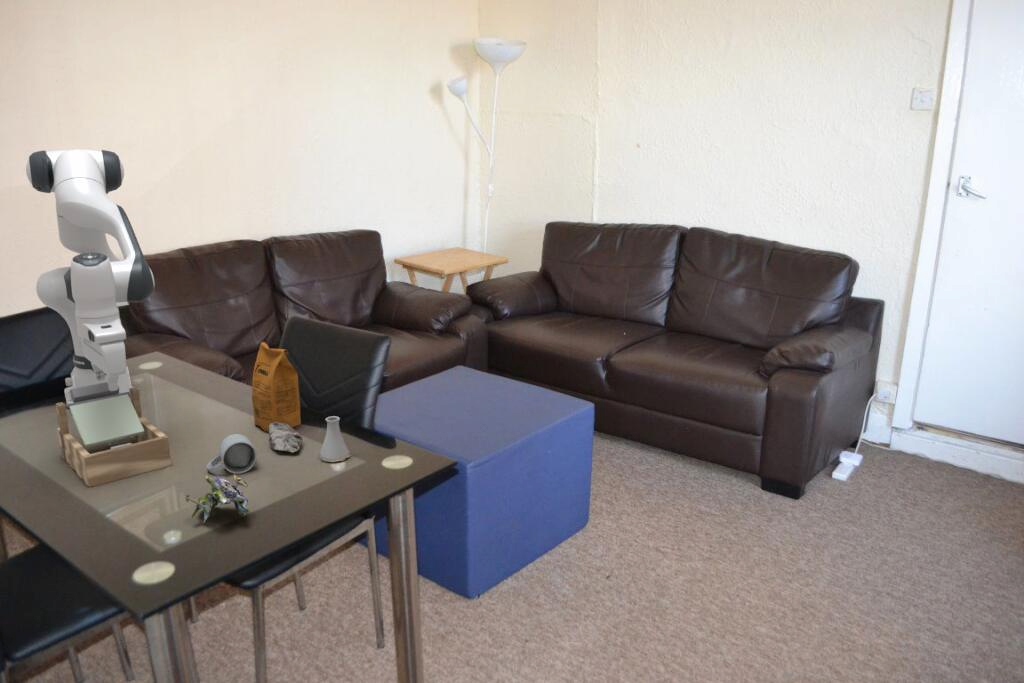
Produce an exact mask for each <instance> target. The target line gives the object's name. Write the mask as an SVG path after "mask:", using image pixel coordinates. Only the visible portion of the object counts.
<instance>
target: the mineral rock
mask: <svg viewBox="0 0 1024 683" xmlns="http://www.w3.org/2000/svg"><path fill="white" fill-rule="evenodd" d="M269 428H270V429H269V432H268V436H269V439H268V442H269V445H268V446H269V448H270V449H272V450H274V451H280V452H283V451H284V452H288V453H294V452H298V451H299V450H300V446H301V444H302V442H303V437H302V436H301V434H300V433H299V432H298V431H296V429H294V427H292V428H291V427H290V426H289V425H288V424H284V423H280V422H272V423H271V424H270V426H269Z"/></svg>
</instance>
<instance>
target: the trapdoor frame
mask: <svg viewBox="0 0 1024 683" xmlns="http://www.w3.org/2000/svg"><path fill="white" fill-rule="evenodd" d="M133 387H134V388H130V389H129V390H130V397H129V398H130V400H131V402H132V405H133V407H134V409H135V411H136V413H137V416H138V418H139V420H140V422H141V425H142V427H143V429H144V434H140V435H136V436H131V438H132V440H134V441H135V442H134V443H131V444H130V445H126V446H122V447H118V448H114V449H107V450H102V451H98V452H93V453H89V452H88V450H86V449H85V447H84V446H83V445H82V444H80V443H79V441H78V440H77V439H76V438H75V437H74V436H73V435H72V434H71V433H70V429H69V423H68V415H67V409H66V404H65V403H64V402H61V401H60V402H57V403H55V407H56V414H57V420H58V427H57V428H56V431H57V437H58V438H57V439H58V445H59V450H60V456H61V455H62V456H63V457H64V458H63V457H62V456H61V457H62V458H63V459H64V461H65V460H66V461H67V462H68V463H69V464H70V465H69V464H68V463H67V462H66V461H65V462H66V463H67V464H68V465H69V466H70V467H71V469H72V470H73V469H74V470H75V471H76V472H77V473H76V472H75V471H74V470H73V471H74V472H75V473H76V474H77V475H78V476H79V478H80V479H81V478H82V479H83V480H84V481H85V482H84V481H83V480H82V479H81V480H82V481H83V482H84V484H85V485H86V486H87V487H88V486H89V488H92V487H91V486H93V487H96V486H99V485H100V486H101V485H103V484H107V483H111V482H115V481H118V480H121V479H122V480H123V479H126V478H129V477H132V476H137V475H140V474H144V473H147V472H151V471H156V470H159V469H162V468H165V467H169V466H170V467H171V466H172V459H171V452H170V442H169V437H168V436H167V435H166V434H165V433H163V432H162V430H159V429H158V428H157V427H156V426H154V425H153V424H152V423H151V422H149V421H148V420H147V419H146V418H144V417H143V415H142V406H141V399H140V390H139V389H138V388H137V387H135V386H133Z"/></svg>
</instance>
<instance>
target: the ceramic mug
mask: <svg viewBox="0 0 1024 683" xmlns="http://www.w3.org/2000/svg"><path fill="white" fill-rule="evenodd" d="M257 456H258V455H257V449H256V448H255V446H254V445H253V443H252V442H251V440H250V439H249V438H248V437H247V436H246V435H243V434H242V433H241V434H240V433H233V434H229V435H228V436H226V437H225V438H224V439H223V440H222V442H221V444H220V447H219V454H218V455H217V456H215V457H213V459H210V461H209V462H208V463H207V465H206V469H207V470H208V472H209V473H210V474H216V473H217V474H218V473H219V472H221V471H223V470H224V469H225V470H226V471H228V473H231V474H236V475H237V474H244V473H246V472H248V471H250V470H251V469H252V468H253V467H254V465H255V464H256V461H257Z"/></svg>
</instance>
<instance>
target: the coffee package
mask: <svg viewBox="0 0 1024 683" xmlns="http://www.w3.org/2000/svg"><path fill="white" fill-rule="evenodd" d="M287 355H289V351H288V350H287V349H285V348H284V349H283V348H270V347H269V345H268V344H267V343H266V342H265V341H262V342H260V346H259V350H258V352H257V356H256V361H255V363H254V367H253V372H252V384H251V385H252V386H251V387H252V388H251V402H252V409H253V420H254V426H256V425H257V426H256V427H260V428H261V430H262V429H263V430H264V432H265V431H267V432H266V433H270V432H269V429H270V428H269V426H270V424H271V423H272V422H280V423H284V424H288V425H289V426H290V427H291V428H295V426H296V427H298V426H299V425H301V424H302V420H301V401H300V389H299V388H300V386H299V376H298V375H299V374H298V372H297V371H296V369H295V367H294V366H293V364H291V362H290V361H289V359H288V357H287ZM297 425H298V426H297ZM263 430H262V431H263Z"/></svg>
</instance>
